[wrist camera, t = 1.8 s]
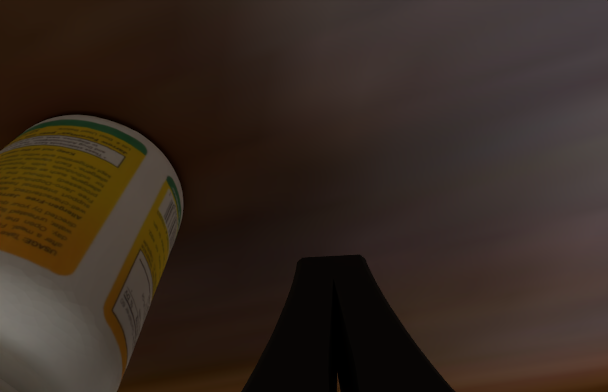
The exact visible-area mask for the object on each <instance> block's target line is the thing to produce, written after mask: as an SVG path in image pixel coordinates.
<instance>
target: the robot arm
mask: <svg viewBox="0 0 608 392" xmlns="http://www.w3.org/2000/svg"><path fill="white" fill-rule="evenodd" d="M337 373H338V379H339V384H340V390H341V392H455V391H454V390H453V389H452V388H451V387H450V386H449V384H448V383H447V382H446V381H445V380H444V379H443V377H442V376H441V375H440V374H439V373H438V371H437V370H436V369H435V368H434V366H433V365H432V364H431V363H430V361H429V360H428V359H427V358H426V356H425V355H424V354H423V352H422V351H421V350H420V348H419V347H418V346H417V345H416V343H415V342H414V340H413V339H412V338H411V336H410V335H409V334H408V332H407V331H406V329H405V328H404V326H403V325H402V323H401V322H400V320H399V319H398V317H397V316H396V314H395V313H394V311H393V310H392V308H391V307H390V305H389V304H388V302H387V300H386V299H385V297H384V295H383V294H382V292H381V290H380V288H379V287H378V285H377V283H376V281H375V279H374V277H373V275H372V273H371V271H370V269H369V267H368V265H367V262H366V260H365V258H363V257H362V256H361V255H344V256H326V257H307V258H302V259H300V260H299V261H298V262H297V268H296V272H295V276H294V280H293V283H292V287H291V290H290V292H289V295H288V298H287V301H286V303H285V306H284V308H283V311H282V313H281V315H280V318H279V320H278V322H277V325H276V327H275V329H274V331H273V334H272V336H271V338H270V340H269V342H268V344H267V346H266V348H265V350H264V352H263V353H262V355H261V357H260V359H259V361H258V363H257V365H256V367H255V369H254V371H253V372H252V374H251V376H250V378H249V379H248V381H247V383H246V385H245V386H244V388H243V390H242V391H241V392H337Z"/></svg>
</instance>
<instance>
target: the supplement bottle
mask: <svg viewBox="0 0 608 392" xmlns="http://www.w3.org/2000/svg"><path fill="white" fill-rule="evenodd" d="M182 215H183V193H182V188H181V184H180V182H179V179H178V177H177V175H176V173H175V170H174V168H173V167H172V165H171V164H170V162H169V161H168V159H167V158H166V157H165V155H164V154H163V153H162V152H161V151H160V150H159V149H158V148H157V147H156V146H155V145H154V144H153V143H152V142H151V141H149V140H148V139H147V138H145V137H144V136H143V135H141V134H140V133H138V132H137V131H134V130H132V129H130V128H128V127H126V126H124V125H121V124H118V123H116V122H113V121H110V120H107V119H103V118H99V117H94V116H87V115H65V116H58V117H54V118H51V119H47V120H45V121H42V122H40V123H38V124H35V125H34V126H32V127H31V128H29V129H27V130H26V131H25V132H23V133H22V134H21V135H20V136H18V137H17V138H16V139H15V140H13V141H12V142H11V143H10V144H8V145H7V146H6V147H5V148H4V149H2V150H1V151H0V392H117V390H118V387H119V385H120V382H121V380H122V377H123V375H124V372H125V370H126V368H127V365H128V363H129V360H130V357H131V355H132V352H133V350H134V347H135V344H136V342H137V339H138V336H139V334H140V331H141V329H142V326H143V323H144V320H145V318H146V315H147V312H148V310H149V307H150V304H151V301H152V299H153V296H154V293H155V291H156V288H157V286H158V283H159V280H160V278H161V275H162V273H163V270H164V268H165V265H166V263H167V260H168V257H169V254H170V252H171V249H172V247H173V245H174V242H175V239H176V237H177V233H178V230H179V228H180V224H181V221H182Z"/></svg>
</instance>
